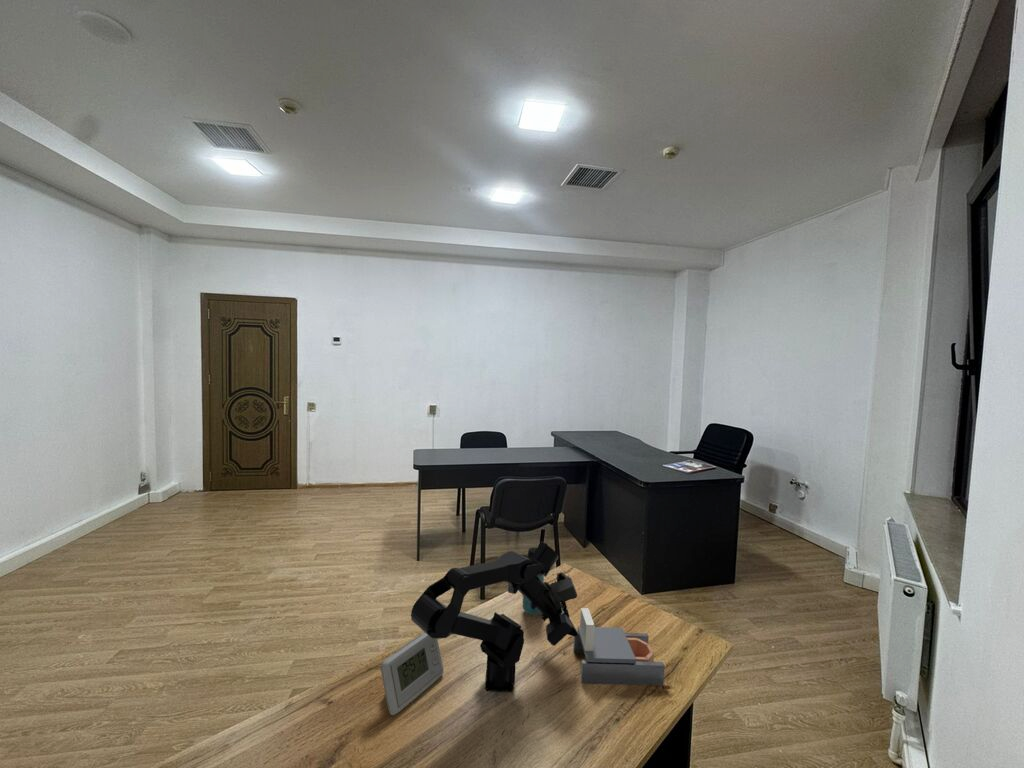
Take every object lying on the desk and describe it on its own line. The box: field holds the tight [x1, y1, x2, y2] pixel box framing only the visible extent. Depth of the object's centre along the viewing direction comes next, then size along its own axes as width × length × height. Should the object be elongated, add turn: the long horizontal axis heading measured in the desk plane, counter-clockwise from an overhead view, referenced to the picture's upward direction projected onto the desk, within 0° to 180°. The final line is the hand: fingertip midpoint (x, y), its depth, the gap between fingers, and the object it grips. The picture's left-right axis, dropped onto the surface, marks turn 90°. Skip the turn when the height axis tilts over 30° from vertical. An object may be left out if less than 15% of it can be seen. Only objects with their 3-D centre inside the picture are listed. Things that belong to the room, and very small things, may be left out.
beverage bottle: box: [521, 547, 545, 615], centre depth 126 cm, size 6×7×20 cm
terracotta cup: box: [627, 638, 655, 662], centre depth 105 cm, size 8×8×5 cm
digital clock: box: [380, 631, 444, 716], centre depth 94 cm, size 16×9×11 cm, turn 134°
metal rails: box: [572, 630, 666, 687], centre depth 105 cm, size 20×12×5 cm, turn 91°
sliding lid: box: [577, 607, 636, 663], centre depth 104 cm, size 12×12×8 cm
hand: (576, 634), depth 104 cm, fingers closed
